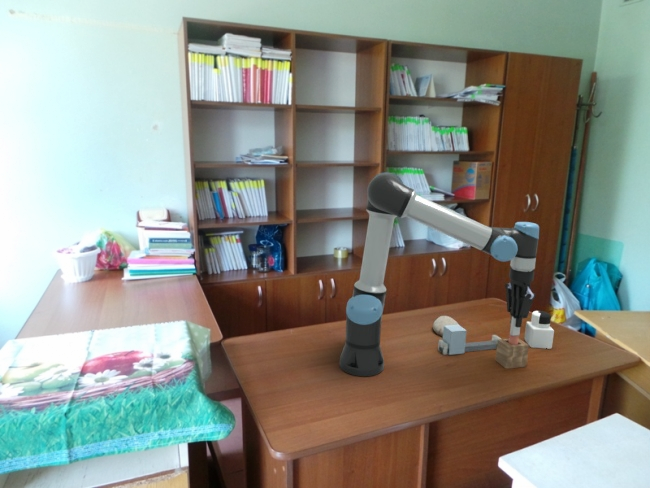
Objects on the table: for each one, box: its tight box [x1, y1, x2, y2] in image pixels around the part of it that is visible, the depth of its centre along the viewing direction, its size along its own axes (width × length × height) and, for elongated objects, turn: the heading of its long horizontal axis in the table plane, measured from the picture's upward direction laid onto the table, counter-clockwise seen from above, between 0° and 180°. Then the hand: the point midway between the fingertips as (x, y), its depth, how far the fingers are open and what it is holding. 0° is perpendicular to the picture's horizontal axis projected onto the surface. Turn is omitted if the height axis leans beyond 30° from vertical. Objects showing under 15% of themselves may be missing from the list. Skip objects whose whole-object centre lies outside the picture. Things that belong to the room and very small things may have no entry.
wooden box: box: [495, 338, 530, 370], centre depth 155 cm, size 8×6×8 cm
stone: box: [432, 315, 460, 337], centre depth 182 cm, size 13×10×8 cm
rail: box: [437, 334, 502, 355], centre depth 166 cm, size 24×4×4 cm, turn 104°
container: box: [524, 310, 555, 350], centre depth 171 cm, size 8×8×13 cm
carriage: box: [442, 324, 467, 356], centre depth 164 cm, size 6×6×9 cm
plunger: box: [508, 333, 520, 345], centre depth 155 cm, size 3×3×8 cm
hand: (514, 334), depth 154 cm, fingers closed
